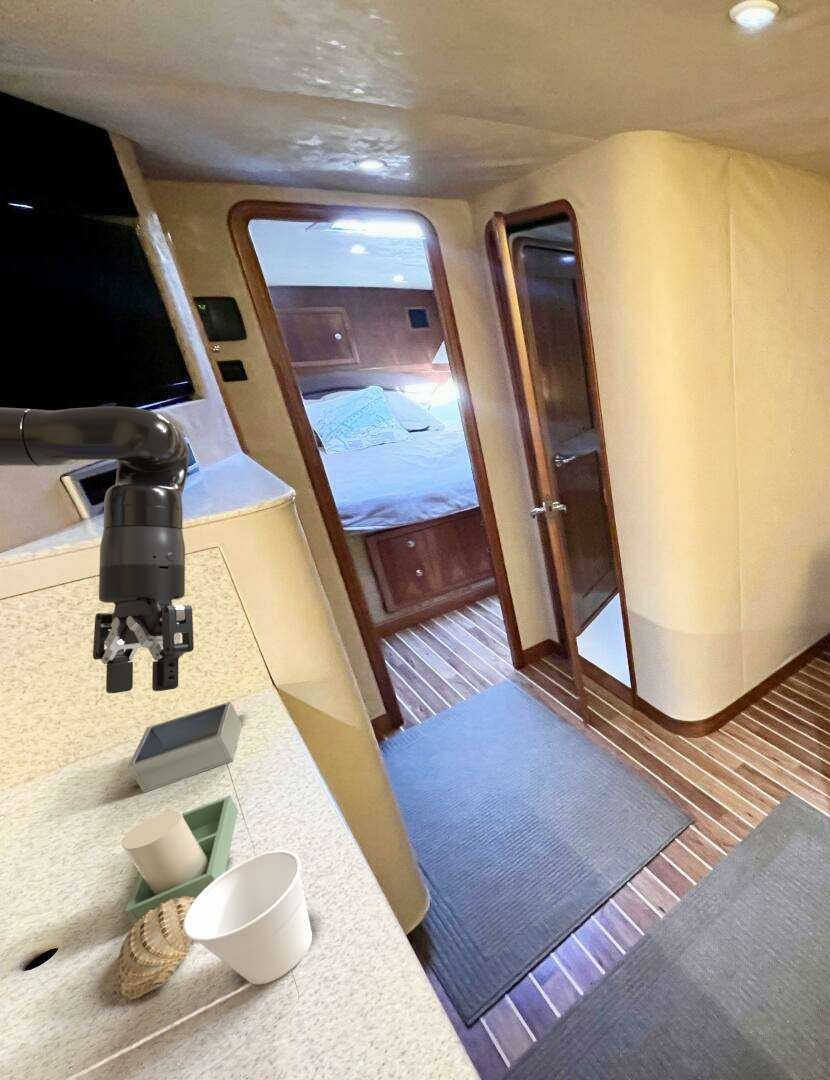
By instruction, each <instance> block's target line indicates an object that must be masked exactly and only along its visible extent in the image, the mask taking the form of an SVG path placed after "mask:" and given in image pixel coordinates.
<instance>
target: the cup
mask: <svg viewBox="0 0 830 1080" xmlns="http://www.w3.org/2000/svg"><path fill="white" fill-rule="evenodd" d="M301 870H302V862H301V858H300V857H299V856H298V854H296V853H295V852H292V851H289V850H282V849H281V850H272V851H271V850H270V851H267V852H263V853H259V854H257V855H254V856H252V857H249V858H247V859H245V860H243V861H241V862H239V863H237V864H236V865H233V866H232V867H231V868H229V869H227V870H226V871H225V873H223V874H222V875H220V876H219V877H218V878H216V879H215V880H214V881H213V882H212V883H211V884H209V885H208V886H207V887H206V888H205V889H204V890H203V891H202V892H201V893H200V894H199V895H198V896H197V898H196V899H195V900H194V902H193V903H192V904H191V906H190V908H189V909H188V911H187V913H186V915H185V918H184V922H183V931H184V933H185V936H186V937H187V938H189V939H190V940H192V942H195V943H199V944H200V945H201V946H203V947H204V948H205V949H207V950H208V951H210V952H211V953H212V954H213V955H214V956H215V957H217V958H218V959H219V960H221V961H222V962H223V963H224V964H226V965H227V966H229V968H231V969H232V970H233V971H234V972H237V974H239V975H240V976H241V977H242V978H244V979H245V980H246V981H248V983H250V984H253V985H264V984H267V983H270V982H273V981H275V980H277V979H279V978H281V977H282V976H284V975H285V974H287V973H289V971H291V970H292V969H293V968H295V966H296V965H298V964H299V962H300V961H301V960H302V959H303V958H304V956H305V955H306V953H307V952H308V950H309V948H310V946H311V944H312V941H313V932H312V927H311V921H310V917H309V912H308V906H307V901H306V897H305V890H304V884H303V879H302V874H301Z"/></svg>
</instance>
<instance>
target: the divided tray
mask: <svg viewBox="0 0 830 1080" xmlns="http://www.w3.org/2000/svg"><path fill="white" fill-rule="evenodd" d="M238 813H239V809H238V807H237V806H236V804H235V802H234V800H233V797H232V796H231V795H227V796H225V797H222V798H219V799H217V800H214V801H212V802H209V803H207V804H203V805H201V806H198V807H195V808H194V809H191V810H188V811H185V812H182V813H181V814H182V815H183V817H184V819H185V820H186V822H187V824H188V826H189V827H190V829H191V831H192V832H193V834H194V836H195V838H196V839H197V841H198V843H199V844H200V846H201V848H202V849H203V851H204V853H205V855H206V856H207V858H208V860H209V861H210V862H209V866H208V870H207V874H204V875H202V876H200V877H197V878H195V879H193V880H191V881H188V882H186V883H184V884H181V885H179V886H177V887H174V888H172V889H170V890H167V891H165V892H163V893H160V894H158V895H156V896H155V895H154V893H153V892H152V890H151V889H150V887H149V886H148V884H147V883H146V881H145V880H144V878H143V877H142V875H141V874H140V872H139V871H138V872H139V873H138V875H137V877H136V880H135V883H134V886H133V887H132V888H133V889H132V892H131V894H130V897H129V899H128V902H127V904H126V907H125V910H124V913H125V915H126V916H127V918H128V919H129V920H130V922H131V924H132V925H133V926H134V925H135V923H136V922H137V921H138V920H140V919H141V918H142V917H143V916H145V915H146V914H147V913H148V912H149V911H150V910H155V909H156V908H157V907H159V905H160V903H162V904H163V903H165V902H167V901H169V900H170V899H173V898H179V899H180V898H181V897H182V896H188V897H194V898H197V896H198V895H199V894H200V893H201V892H202V891H203V890H204V889H205V888H206V887H207V886H208V885H209V884H211V883H212V882H213V881H214V880H215V879H216V878H218V877H219V876H220V875H222V874H223V873H225V872H226V871H227V865H228V861H229V856H230V852H231V846H232V841H233V837H234V832H235V827H236V822H237V817H238Z"/></svg>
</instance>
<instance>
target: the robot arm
mask: <svg viewBox="0 0 830 1080" xmlns="http://www.w3.org/2000/svg"><path fill="white" fill-rule="evenodd" d="M189 451H190V450H189V445H188V442H187V440H186V437H185V436H184V435H183V434H182V433H181V432H180V431H179V430H178V429H177V428H176V427H175V426H174V425H173V424H172V423H171V422H170V421H169V420H168V419H167V418H165V417H164V416H162V415H160V414H158V413H156V412H154V411H151V410H147V409H143V408H138V407H130V406H119V405H118V406H115V405H113V406H110V405H109V406H92V407H91V406H90V407H77V408H67V409H65V408H64V409H57V410H50V409H39V408H33V409H32V408H21V407H19V408H16V407H0V467H2V468H3V467H5V468H7V467H9V468H10V467H11V468H12V467H14V468H15V467H16V468H17V467H18V468H24V467H25V468H54V467H55V468H59V467H67V466H73V465H75V464H77V463H78V462H80V461H116V462H117V467H116V468H117V469H116V477H115V484H114V485H112V486H110V487H109V488H108V489H107V490H106V491H105V496H104V500H103V501H104V502H103V530H102V531H103V532H102V537H101V542H100V545H99V569H98V571H99V572H98V573H99V579H98V600H99V601H100V602H101V603H103V604H104V603H105V604H114V609H113V612H98V613H96V614H95V617H94V629H93V631H94V632H93V647H92V658H93V660H101V662H102V664H103V665H106V669H105V670H106V673H105V674H106V675H105V676H106V677H105V679H106V681H105V683H106V684H105V691H106V693H108V694H118V693H126V692H129V691H132V689H133V686H134V685H133V684H134V661H133V659H134V657H135V656H136V653H137V652H138V650H139V649H140V648H144V649H148V651H149V653H150V655H151V657H152V658H153V660H154V661H152V670H151V672H152V674H151V680H152V681H151V688H152V691H154V692H165V691H170V690H175V689H177V688H178V687H179V659H180V658H182V657H184V654H185V653H191V652H193V651H194V647H195V644H194V620H193V618H194V617H193V607H192V605H191V604H184V605H183V604H178V605H176V604H175V605H173V601H175V600H176V601H177V600H180V599H183V598H184V597H185V594H186V545H185V540H184V533H183V528H184V527H183V526H184V525H183V523H184V520H183V519H184V518H183V516H184V515H183V514H184V513H183V511H184V510H183V509H184V507H183V493H184V489H185V485H186V481H187V476H188V470H189V463H190V452H189ZM180 639H181V640H182V642H180V641H179V640H180ZM105 646H106V649H105Z"/></svg>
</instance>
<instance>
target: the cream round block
mask: <svg viewBox="0 0 830 1080" xmlns="http://www.w3.org/2000/svg"><path fill="white" fill-rule="evenodd" d="M182 814H183V813H182V812H180V811H177V810H169V811H168V810H167V811H165V812H161V813H158V814H156V815H153V816H151V817H149V818H147V819H145V820H143V821H141V822H140V823H139V824H137V825H136V826H134V827H133V828H132V829H131V830H129V832H127V834H125V836H124V837H123V839H122V841H121V847H122V849H123V850H124V852H125V853H126V854H127V856H128V857H129V859H130V860H131V862H132V864H134V866H135V868H136V869H137V871H138V872H140V874H141V875H142V877H143V878H144V880H145V881H146V883H147V884H148V886H149V887H150V889H151V890H152V892H153V893H154V895H155V896H156V895H158V894H160V893H163V892H165V891H167V890H170V889H172V888H174V887H177V886H179V885H181V884H184V883H186V882H188V881H191V880H193V879H195V878H197V877H200V876H202V875H204V874H207V870H208V866H209V862H210V861H209V860H208V858H207V856H206V855H205V853H204V851H203V849H202V848H201V846H200V844H199V843H198V841H197V839H196V838H195V836H194V834H193V832H192V831H191V829H190V827H189V826H188V824H187V822H186V820H185V819H184V817H183V815H182Z"/></svg>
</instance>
